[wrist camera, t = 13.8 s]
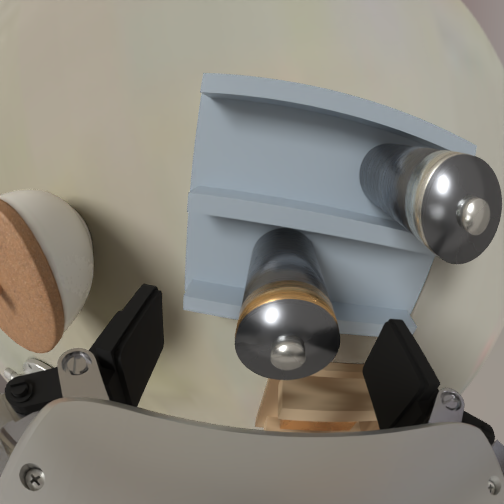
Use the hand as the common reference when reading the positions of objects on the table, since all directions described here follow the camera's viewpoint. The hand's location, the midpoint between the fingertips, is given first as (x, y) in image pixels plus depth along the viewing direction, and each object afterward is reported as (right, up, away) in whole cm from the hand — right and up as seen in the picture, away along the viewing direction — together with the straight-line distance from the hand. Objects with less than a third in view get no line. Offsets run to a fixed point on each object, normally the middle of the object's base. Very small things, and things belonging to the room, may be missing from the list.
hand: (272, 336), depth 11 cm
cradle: (+6, -10, +12) cm, 17 cm away
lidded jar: (-16, +4, +8) cm, 18 cm away
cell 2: (+7, +8, +3) cm, 11 cm away
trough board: (+4, +6, +5) cm, 9 cm away
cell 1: (+1, +3, +6) cm, 6 cm away
